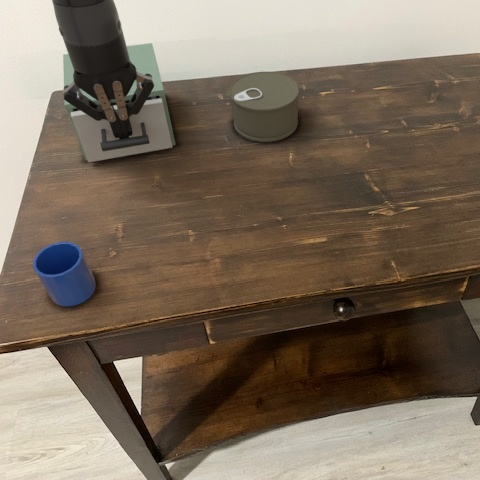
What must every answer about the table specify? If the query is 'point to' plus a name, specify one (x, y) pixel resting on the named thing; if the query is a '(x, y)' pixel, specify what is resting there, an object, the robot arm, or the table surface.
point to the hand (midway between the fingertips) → (124, 137)
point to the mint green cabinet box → (144, 64)
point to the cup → (65, 273)
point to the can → (265, 106)
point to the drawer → (142, 140)
